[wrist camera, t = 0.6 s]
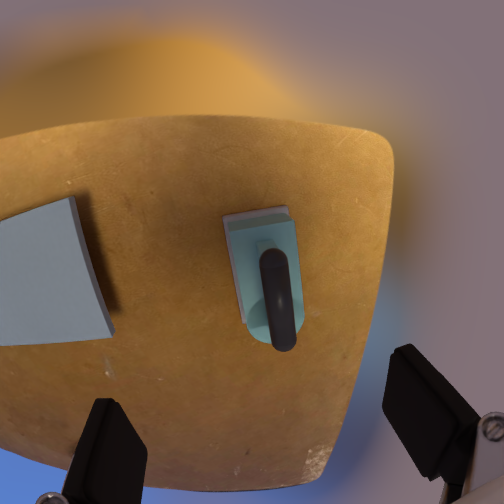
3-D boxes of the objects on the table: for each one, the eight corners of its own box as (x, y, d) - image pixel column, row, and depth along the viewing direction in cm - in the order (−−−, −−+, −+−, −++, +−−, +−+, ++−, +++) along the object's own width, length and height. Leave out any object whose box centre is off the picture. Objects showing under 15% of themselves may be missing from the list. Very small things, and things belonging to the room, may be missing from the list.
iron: (222, 215, 27) (224, 242, 19) (285, 204, 28) (316, 225, 19) (243, 324, 31) (252, 381, 22) (298, 312, 31) (325, 365, 23)
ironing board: (-58, 246, 24) (-79, 257, 19) (91, 190, 25) (68, 197, 20) (-28, 329, 28) (-45, 346, 23) (125, 312, 29) (112, 337, 25)
